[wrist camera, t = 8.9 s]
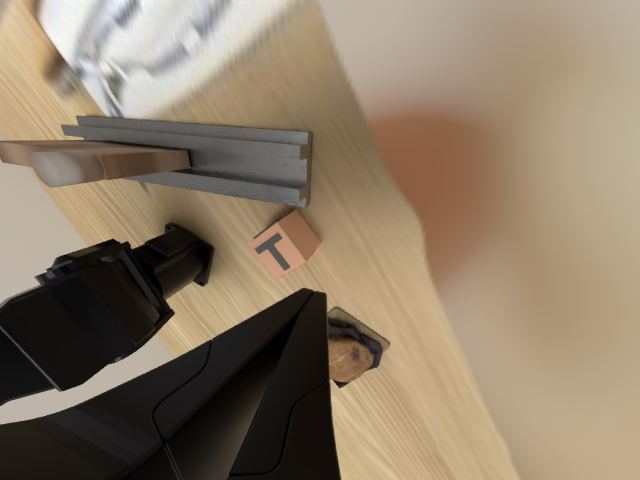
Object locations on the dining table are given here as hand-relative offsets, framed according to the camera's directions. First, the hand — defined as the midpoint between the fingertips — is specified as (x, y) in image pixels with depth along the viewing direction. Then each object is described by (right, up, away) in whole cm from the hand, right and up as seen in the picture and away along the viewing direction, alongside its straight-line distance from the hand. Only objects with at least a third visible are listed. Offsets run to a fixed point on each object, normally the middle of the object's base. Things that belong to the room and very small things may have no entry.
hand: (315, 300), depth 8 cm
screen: (-18, +11, +15) cm, 26 cm away
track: (-13, +10, +15) cm, 22 cm away
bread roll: (+3, -10, +20) cm, 22 cm away
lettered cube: (-2, +3, +15) cm, 15 cm away
